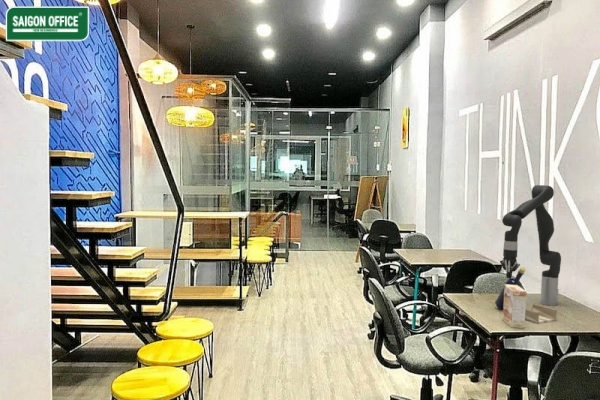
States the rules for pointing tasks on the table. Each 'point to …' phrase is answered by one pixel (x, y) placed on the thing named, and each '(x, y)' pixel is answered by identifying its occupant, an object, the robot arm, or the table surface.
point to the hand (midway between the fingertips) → (508, 278)
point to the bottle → (511, 281)
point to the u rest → (540, 314)
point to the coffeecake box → (514, 306)
